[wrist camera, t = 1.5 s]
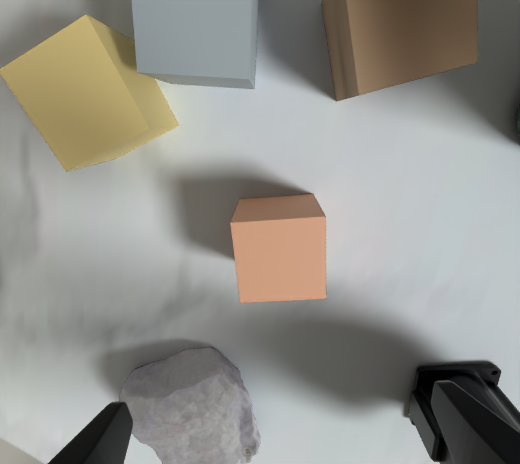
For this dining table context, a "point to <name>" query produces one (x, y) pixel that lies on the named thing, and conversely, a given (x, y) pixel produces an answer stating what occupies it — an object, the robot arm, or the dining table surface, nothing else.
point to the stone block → (192, 409)
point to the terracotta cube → (280, 248)
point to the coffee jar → (518, 120)
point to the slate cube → (197, 41)
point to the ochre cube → (88, 94)
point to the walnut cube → (396, 41)
